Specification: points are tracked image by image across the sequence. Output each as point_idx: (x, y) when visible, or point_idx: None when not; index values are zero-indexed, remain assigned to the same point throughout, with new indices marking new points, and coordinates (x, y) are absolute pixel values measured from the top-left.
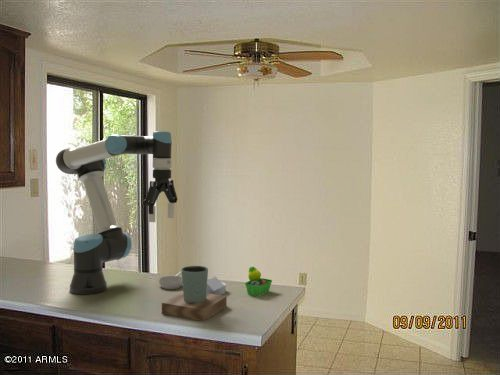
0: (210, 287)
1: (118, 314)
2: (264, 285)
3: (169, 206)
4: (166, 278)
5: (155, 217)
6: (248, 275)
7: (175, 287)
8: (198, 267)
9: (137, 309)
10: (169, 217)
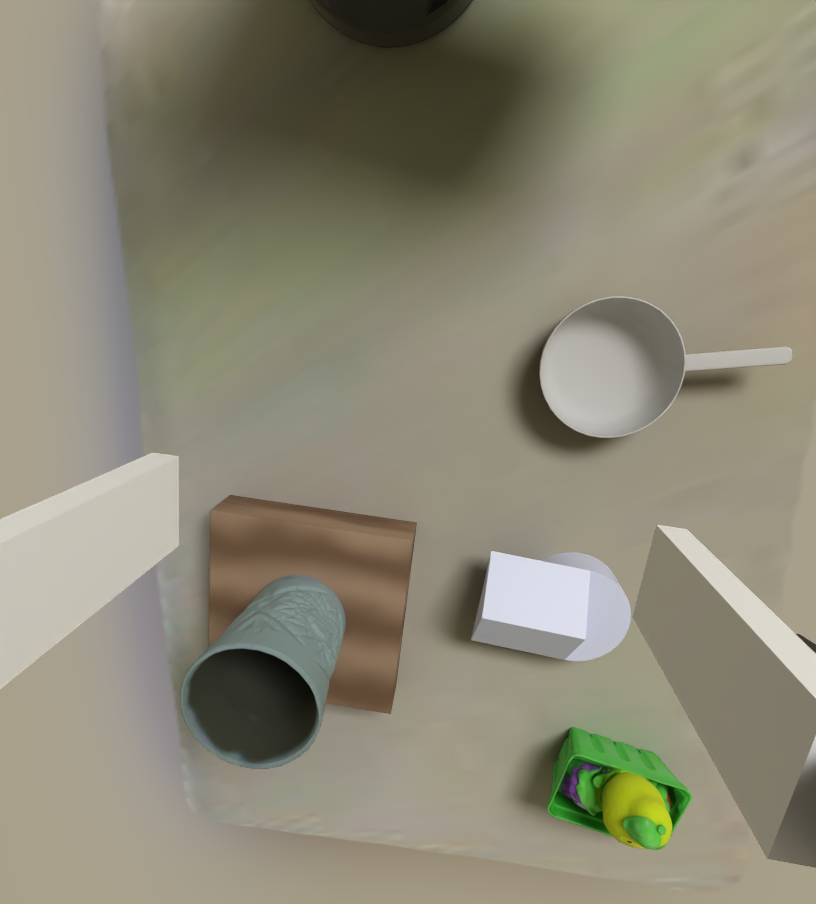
0: (475, 630)
1: (147, 342)
2: (588, 821)
3: (748, 686)
4: (658, 314)
5: (138, 577)
6: (621, 788)
7: (561, 408)
8: (316, 703)
9: (228, 384)
10: (650, 561)
